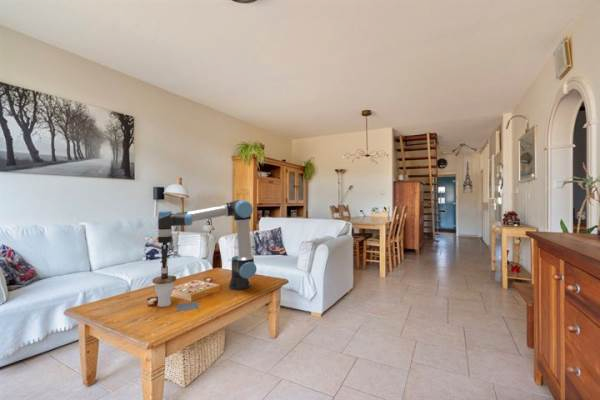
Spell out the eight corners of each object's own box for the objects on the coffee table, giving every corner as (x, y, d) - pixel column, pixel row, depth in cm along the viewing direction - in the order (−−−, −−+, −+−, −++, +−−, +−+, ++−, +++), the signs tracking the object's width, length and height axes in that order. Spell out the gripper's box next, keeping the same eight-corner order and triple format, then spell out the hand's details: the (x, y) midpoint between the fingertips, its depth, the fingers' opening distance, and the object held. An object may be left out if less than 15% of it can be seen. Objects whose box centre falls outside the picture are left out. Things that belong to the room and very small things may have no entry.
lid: (176, 277, 181) (176, 263, 182) (176, 282, 170) (176, 268, 170) (153, 279, 176) (153, 265, 176) (151, 284, 164) (151, 270, 164)
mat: (197, 302, 178) (197, 301, 178) (199, 309, 167) (199, 308, 167) (176, 305, 173) (176, 304, 173) (177, 312, 162) (177, 311, 162)
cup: (166, 309, 167) (166, 283, 167) (150, 307, 169) (150, 282, 169) (177, 302, 177) (177, 279, 177) (162, 301, 179) (162, 277, 179)
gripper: (159, 233, 183) (158, 266, 183) (156, 238, 160) (156, 276, 160) (171, 233, 186) (171, 265, 186) (171, 238, 163) (171, 274, 163)
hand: (164, 270), depth 173 cm, fingers open, 13 cm apart
